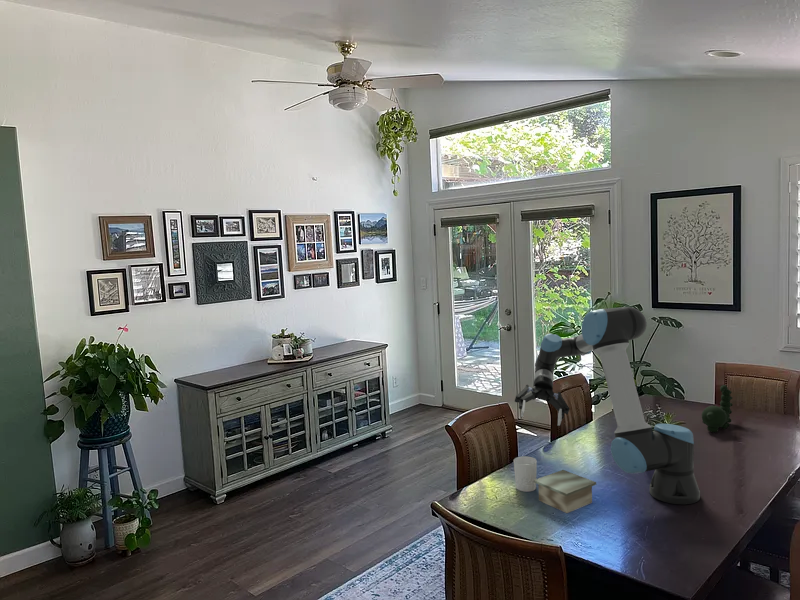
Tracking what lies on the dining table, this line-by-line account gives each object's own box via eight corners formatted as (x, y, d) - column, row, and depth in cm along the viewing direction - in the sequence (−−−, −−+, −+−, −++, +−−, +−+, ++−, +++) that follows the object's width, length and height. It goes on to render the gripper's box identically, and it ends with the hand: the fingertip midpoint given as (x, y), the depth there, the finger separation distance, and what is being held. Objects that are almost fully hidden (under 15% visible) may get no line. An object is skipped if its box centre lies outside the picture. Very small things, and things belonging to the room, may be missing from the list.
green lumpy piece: (715, 423, 268) (695, 432, 251) (716, 382, 268) (696, 388, 250) (738, 427, 262) (719, 437, 244) (739, 385, 261) (720, 391, 244)
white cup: (539, 492, 202) (538, 464, 201) (516, 493, 202) (515, 465, 201) (534, 482, 210) (534, 455, 209) (512, 483, 210) (511, 456, 209)
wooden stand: (596, 502, 192) (596, 482, 191) (567, 515, 184) (566, 493, 183) (563, 489, 203) (563, 469, 203) (534, 500, 196) (533, 480, 195)
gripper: (572, 397, 233) (572, 434, 216) (510, 383, 237) (505, 417, 220) (577, 383, 229) (577, 419, 212) (513, 368, 233) (509, 402, 216)
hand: (540, 418), depth 216 cm, fingers open, 13 cm apart
